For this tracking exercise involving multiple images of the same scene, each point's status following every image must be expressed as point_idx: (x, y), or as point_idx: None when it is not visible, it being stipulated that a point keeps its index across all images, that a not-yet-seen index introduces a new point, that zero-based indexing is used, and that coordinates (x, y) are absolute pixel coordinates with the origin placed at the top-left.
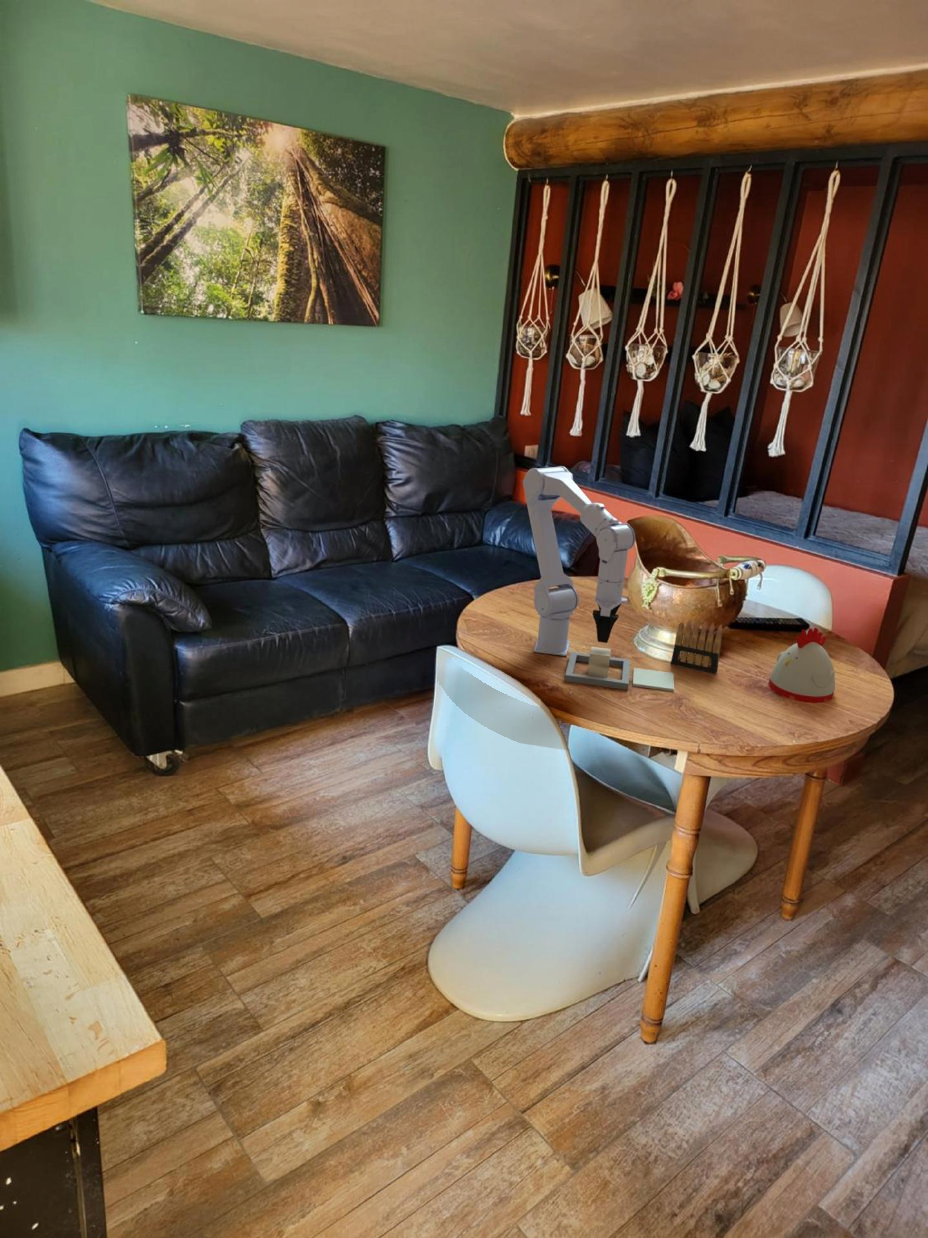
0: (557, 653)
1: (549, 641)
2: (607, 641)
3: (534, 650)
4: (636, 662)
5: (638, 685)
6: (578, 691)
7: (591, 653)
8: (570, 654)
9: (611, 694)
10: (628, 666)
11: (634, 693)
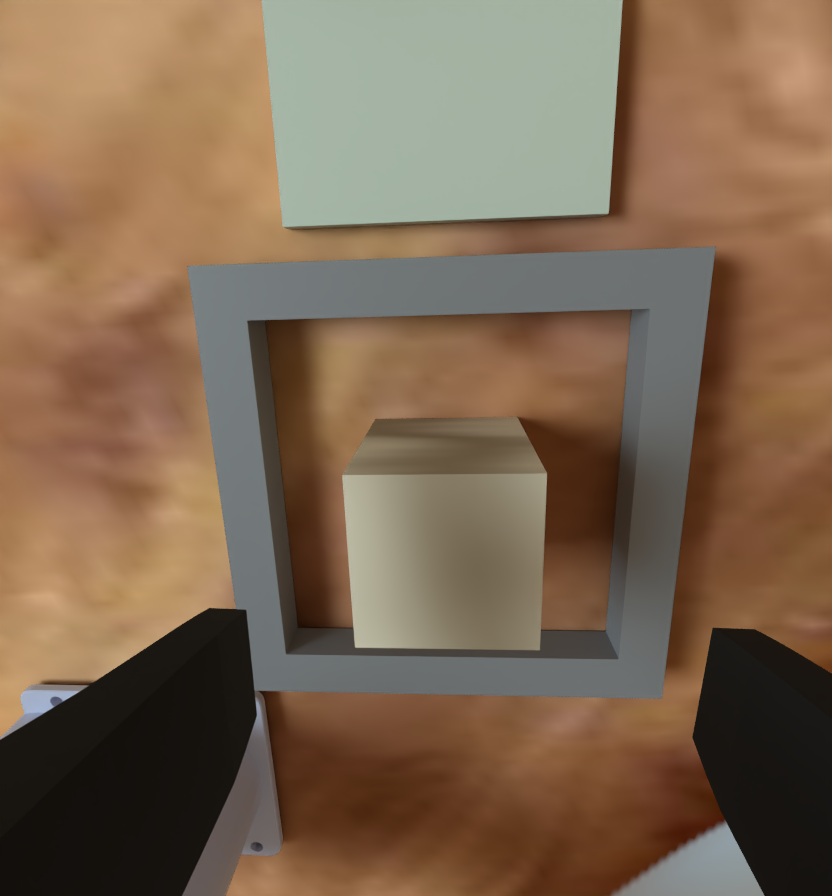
0: (265, 742)
1: (236, 857)
2: (770, 640)
3: (278, 851)
4: (121, 215)
5: (609, 164)
6: (787, 581)
7: (526, 638)
8: (295, 691)
9: (797, 368)
10: (341, 272)
11: (744, 191)
